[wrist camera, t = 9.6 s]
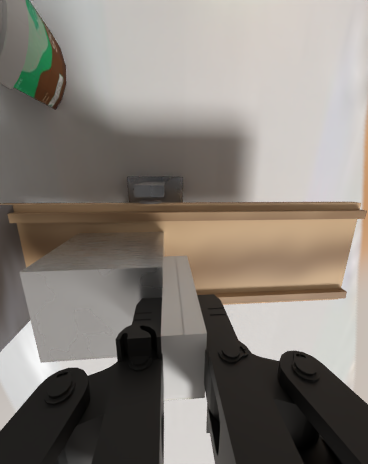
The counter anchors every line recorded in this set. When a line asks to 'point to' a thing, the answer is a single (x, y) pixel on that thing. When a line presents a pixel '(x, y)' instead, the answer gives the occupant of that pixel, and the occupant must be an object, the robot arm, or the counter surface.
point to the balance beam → (194, 246)
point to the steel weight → (91, 292)
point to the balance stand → (155, 189)
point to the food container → (30, 54)
